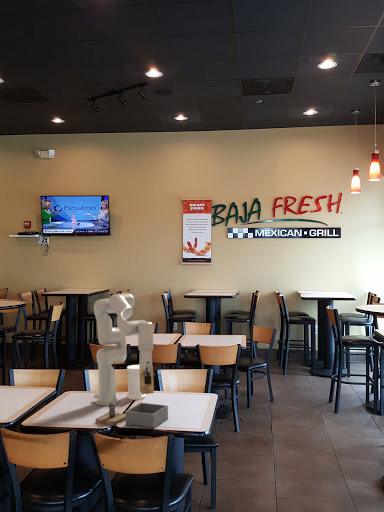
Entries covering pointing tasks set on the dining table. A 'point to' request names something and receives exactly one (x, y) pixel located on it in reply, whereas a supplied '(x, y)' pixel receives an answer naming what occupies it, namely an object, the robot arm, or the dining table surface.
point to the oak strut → (146, 387)
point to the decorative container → (134, 383)
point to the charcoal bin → (147, 415)
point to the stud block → (111, 416)
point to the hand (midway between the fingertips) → (146, 382)
